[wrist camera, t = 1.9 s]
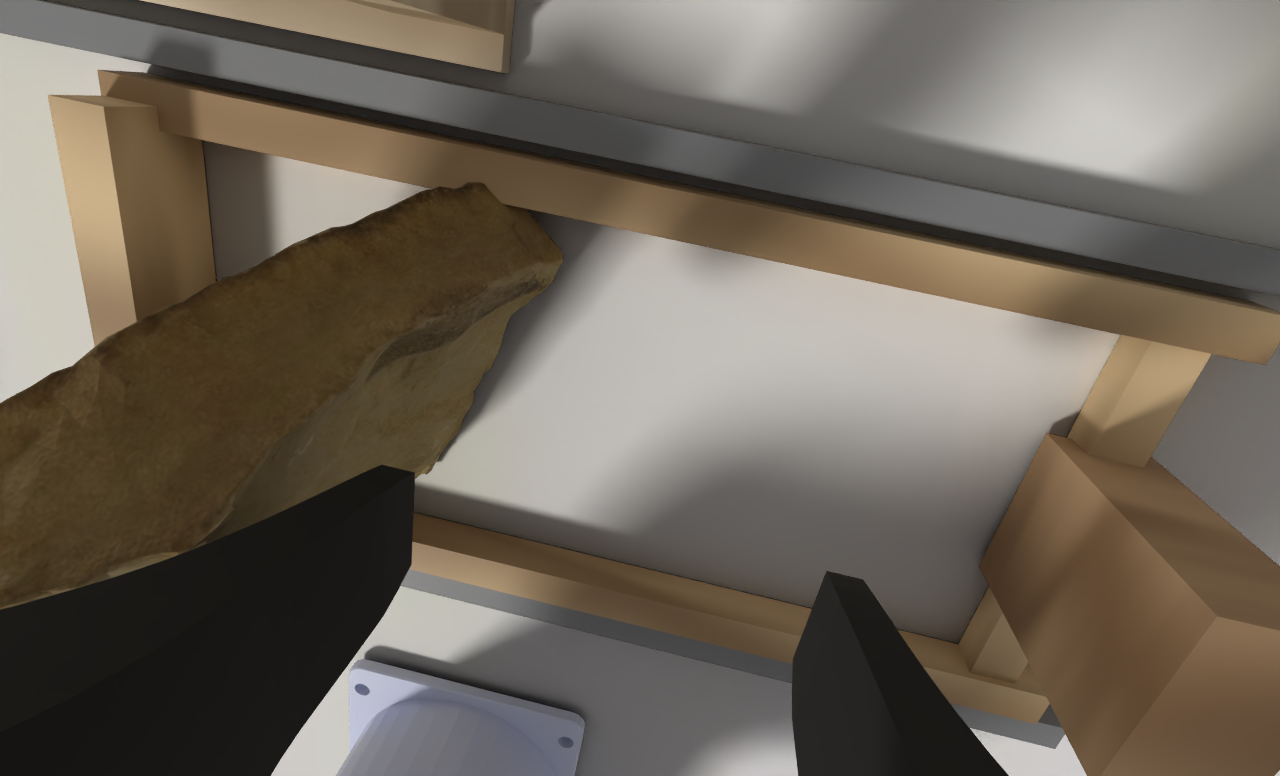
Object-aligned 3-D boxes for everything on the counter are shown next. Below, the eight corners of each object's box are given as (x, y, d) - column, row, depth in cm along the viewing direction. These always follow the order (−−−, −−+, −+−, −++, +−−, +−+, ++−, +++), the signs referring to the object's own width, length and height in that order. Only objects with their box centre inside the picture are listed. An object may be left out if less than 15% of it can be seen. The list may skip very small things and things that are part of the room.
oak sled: (1019, 687, 18) (1141, 943, 13) (197, 486, 20) (-19, 637, 14) (1251, 301, 14) (1611, 439, 8) (144, 72, 15) (-214, 52, 9)
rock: (456, 6, 11) (-31, 180, 12) (469, 465, 7) (-285, 659, 8) (622, 341, 20) (334, 421, 22) (672, 624, 16) (309, 703, 17)
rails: (1043, 723, 19) (1055, 748, 18) (-114, 438, 21) (-144, 450, 20) (1580, -110, 11) (1642, -126, 10) (-428, -445, 13) (-499, -478, 12)
